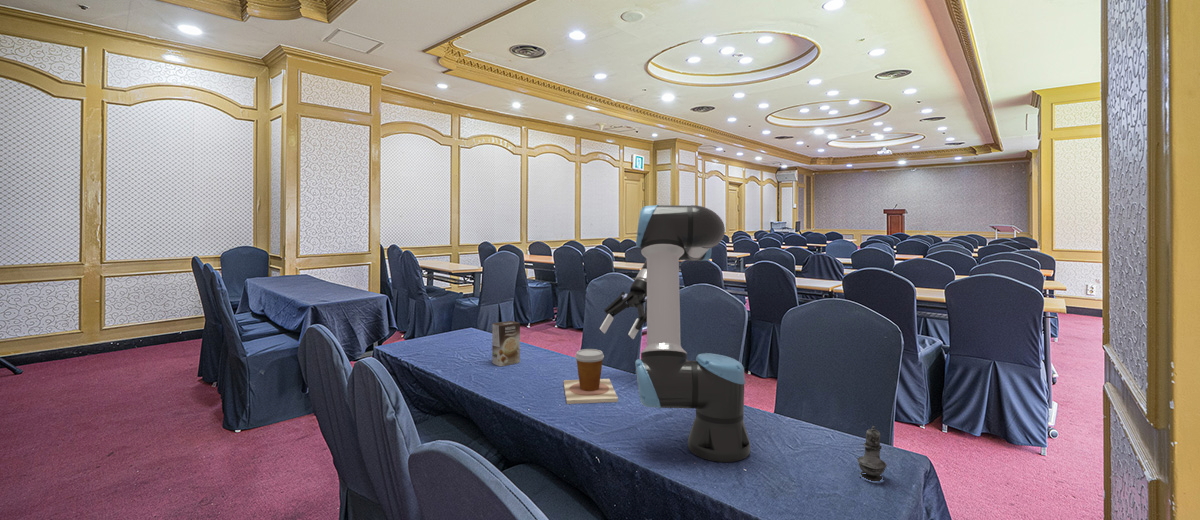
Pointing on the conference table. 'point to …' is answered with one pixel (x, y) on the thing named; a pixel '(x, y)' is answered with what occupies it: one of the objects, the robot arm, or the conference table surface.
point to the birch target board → (589, 393)
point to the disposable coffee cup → (589, 368)
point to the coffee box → (505, 343)
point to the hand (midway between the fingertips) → (616, 334)
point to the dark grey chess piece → (872, 457)
